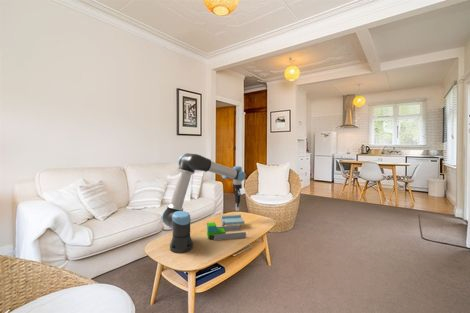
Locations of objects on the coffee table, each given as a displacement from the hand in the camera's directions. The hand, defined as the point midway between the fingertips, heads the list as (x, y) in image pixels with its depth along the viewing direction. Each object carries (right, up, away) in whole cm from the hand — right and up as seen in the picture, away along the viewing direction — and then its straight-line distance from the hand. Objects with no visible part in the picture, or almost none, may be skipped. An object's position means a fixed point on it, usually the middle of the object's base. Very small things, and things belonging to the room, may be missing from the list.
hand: (237, 210), depth 201 cm
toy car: (-16, -13, -30) cm, 37 cm away
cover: (-5, -12, -10) cm, 16 cm away
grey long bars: (-8, -13, -26) cm, 30 cm away
